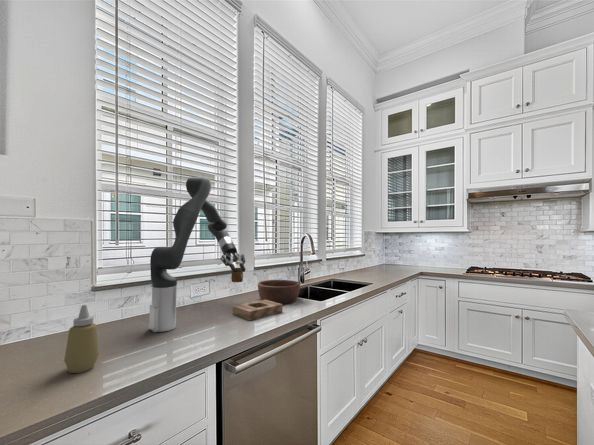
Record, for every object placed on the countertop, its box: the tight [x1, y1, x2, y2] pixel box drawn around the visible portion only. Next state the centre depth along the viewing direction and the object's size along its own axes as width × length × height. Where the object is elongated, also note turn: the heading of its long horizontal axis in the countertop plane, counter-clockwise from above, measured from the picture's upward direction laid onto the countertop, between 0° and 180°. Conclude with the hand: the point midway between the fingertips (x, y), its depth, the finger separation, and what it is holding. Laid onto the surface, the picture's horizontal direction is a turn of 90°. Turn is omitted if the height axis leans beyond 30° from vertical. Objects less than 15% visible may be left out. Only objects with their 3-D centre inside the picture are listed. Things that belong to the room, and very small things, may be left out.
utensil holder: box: [230, 260, 244, 283], centre depth 152 cm, size 6×6×12 cm
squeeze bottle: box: [64, 304, 100, 374], centre depth 83 cm, size 8×8×18 cm
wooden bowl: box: [257, 279, 301, 305], centre depth 170 cm, size 25×25×10 cm
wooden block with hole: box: [232, 299, 284, 321], centre depth 142 cm, size 20×14×4 cm
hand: (239, 270), depth 151 cm, fingers closed on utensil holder, 5 cm apart
